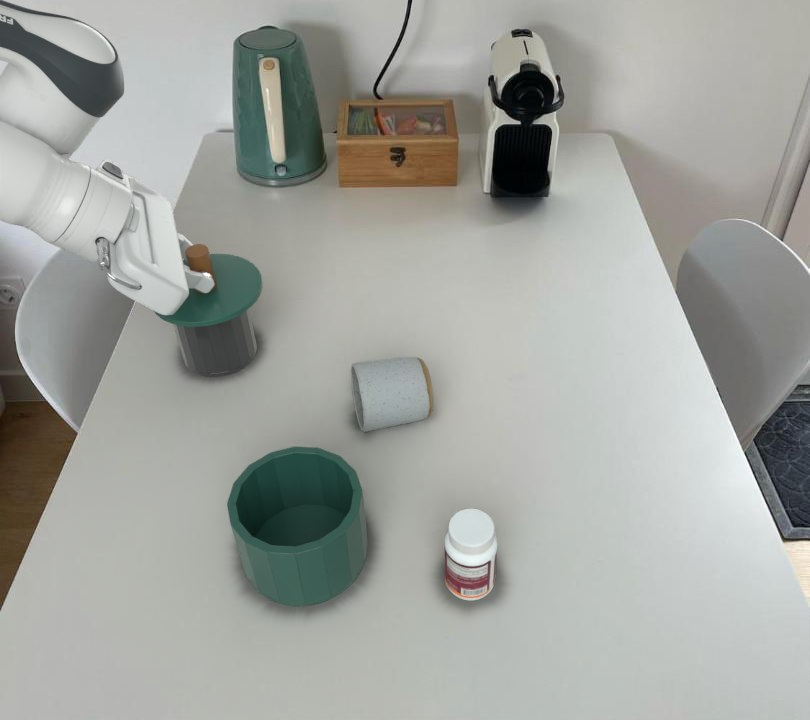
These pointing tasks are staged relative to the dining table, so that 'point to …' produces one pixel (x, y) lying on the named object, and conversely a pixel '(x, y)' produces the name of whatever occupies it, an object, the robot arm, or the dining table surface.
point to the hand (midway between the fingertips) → (208, 274)
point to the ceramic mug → (391, 392)
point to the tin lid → (217, 289)
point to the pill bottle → (470, 554)
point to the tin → (299, 525)
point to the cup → (218, 346)
